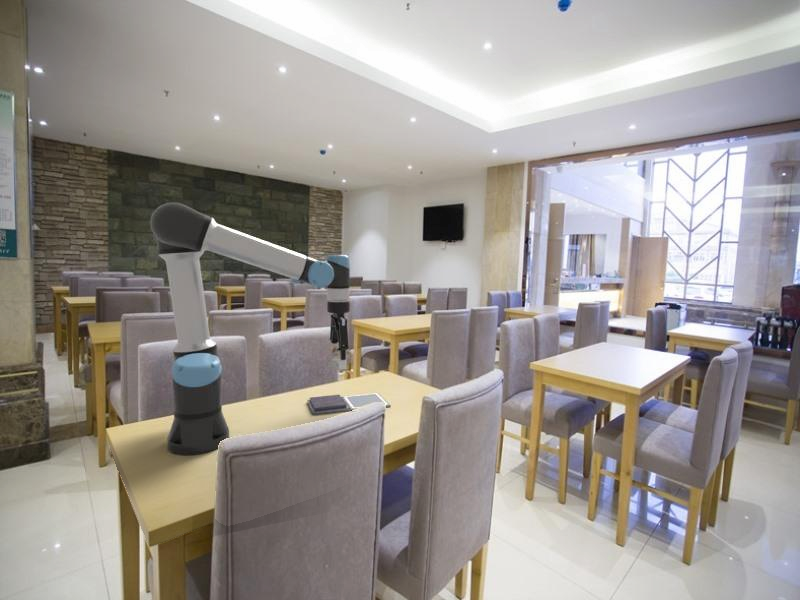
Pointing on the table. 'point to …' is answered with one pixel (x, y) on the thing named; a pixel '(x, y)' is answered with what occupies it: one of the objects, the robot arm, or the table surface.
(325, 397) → the ink pad
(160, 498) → the table surface
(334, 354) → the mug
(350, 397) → the marked board
